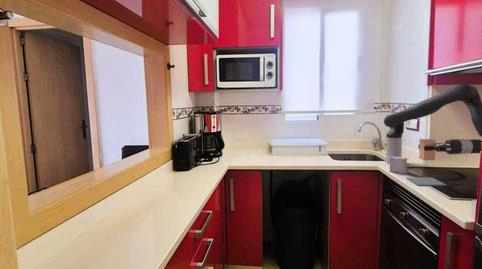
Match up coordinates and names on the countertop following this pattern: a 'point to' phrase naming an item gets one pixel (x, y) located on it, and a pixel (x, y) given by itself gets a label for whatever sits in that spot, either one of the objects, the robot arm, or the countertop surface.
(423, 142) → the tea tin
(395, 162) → the medicine box
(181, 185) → the countertop surface
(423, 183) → the slate mat
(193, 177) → the countertop surface
